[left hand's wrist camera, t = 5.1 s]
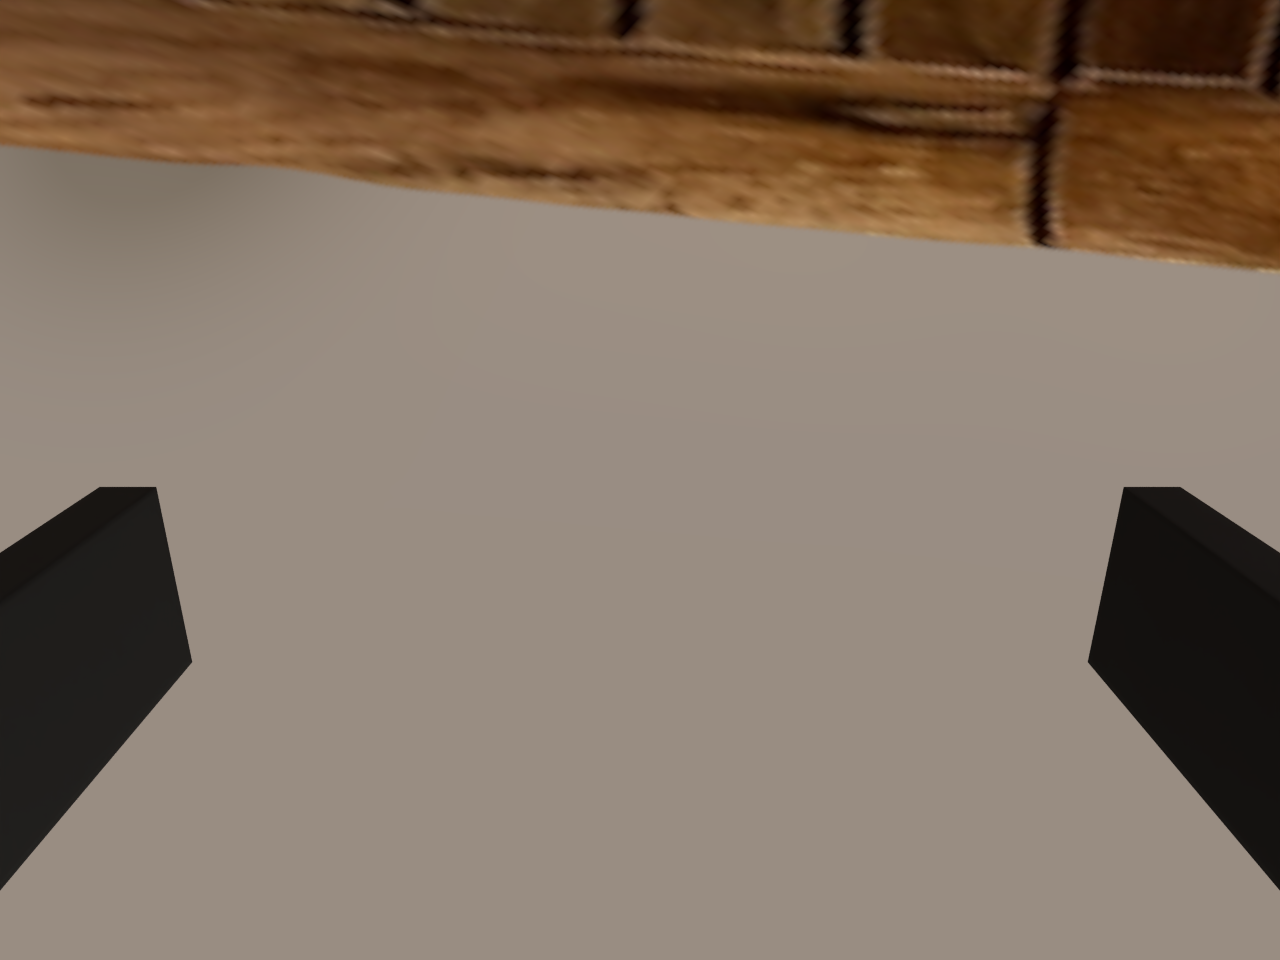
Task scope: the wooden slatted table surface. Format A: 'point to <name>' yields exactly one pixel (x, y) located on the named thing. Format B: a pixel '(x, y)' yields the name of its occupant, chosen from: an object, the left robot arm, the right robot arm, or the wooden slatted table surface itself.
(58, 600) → the left robot arm
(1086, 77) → the wooden slatted table surface
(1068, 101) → the wooden slatted table surface
